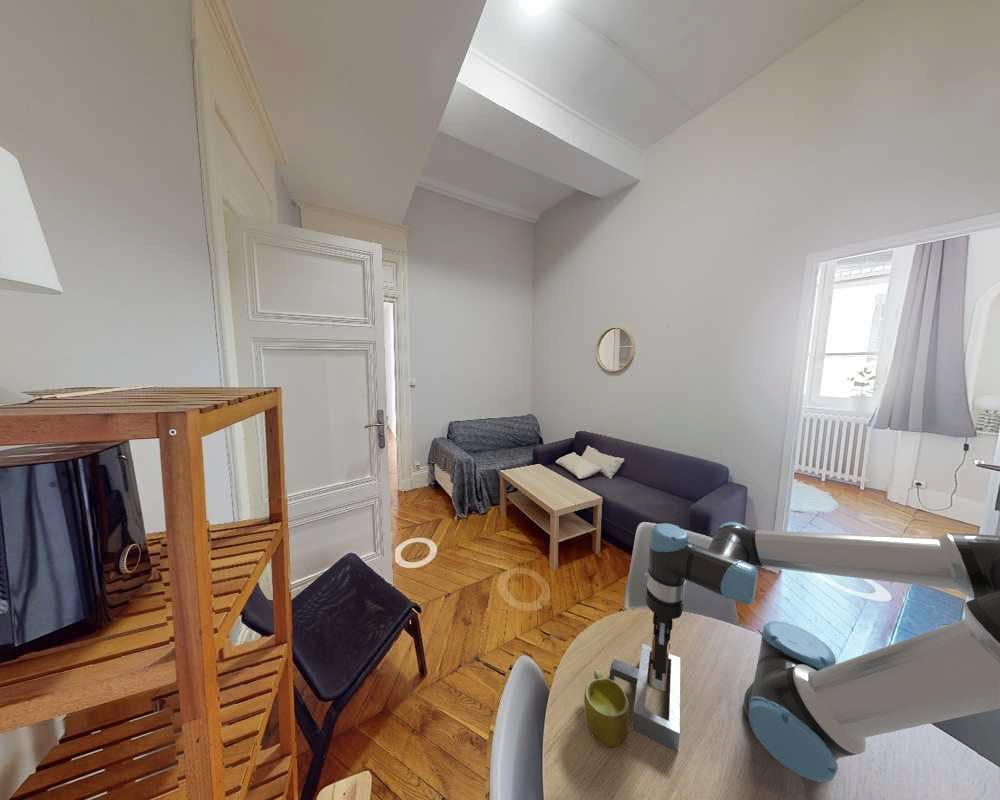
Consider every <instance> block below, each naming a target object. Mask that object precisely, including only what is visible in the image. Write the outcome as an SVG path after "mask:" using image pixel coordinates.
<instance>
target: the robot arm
mask: <svg viewBox="0 0 1000 800" xmlns="http://www.w3.org/2000/svg"><path fill="white" fill-rule="evenodd" d="M650 531H651V532H650V537H649V538H650V539H649V542H648V565H647V566H648V567H647V568H648V569H647V572H645V573H644V577H645V578H647V580H646V581H647V584H646V585H647V587H646V595H645V602H646V606H647V607H648V608H649V610H650V611H651V612H652V613H653V617H652V623H653V634H652V635H653V636H654V637H655V650H654V659H650V664H653V670H652V684H650V685H651V686H652V687H653V688H656V689H658V690H661V691H662V692H665V690H664V687H665V675H666V657H667V645H668V643H669V650H670V649H671V643H670V640H671V631H672V630H673V620H675V619H678V618H680V617H681V616H682V614H683V608H684V598H685V593H686V592H685V588H686V581H688V582H690V583H693V584H695V585H698V586H699V587H702V588H704V589H707V590H709V591H711V592H713V593H715V594H717V595H720V596H722V597H723V598H725V599H728V600H733V601H735V602H738V603H740V604H742V605H747V606H748V605H752V604H753V603H754V600H755V596H756V590H757V586H758V585H757V584H758V577H759V571H758V570H759V569H758V568H759V567H760V568H770V569H778V570H786V571H787V570H788V571H795V572H796V571H797V572H804V573H813V574H820V575H821V574H822V575H829V576H830V575H831V576H839V577H846V578H855V579H856V578H857V579H865V580H872V581H882V582H891V583H899V584H907V585H913V586H914V585H916V586H923V587H924V586H925V587H932V588H933V587H934V588H941V589H949V590H956V591H959V593H961V594H963V595H965V596H966V597H968V598H969V599H970V600H967V601H966V602H964V604H963V610H964V612H963V613H964V618H963V619H961V620H958V621H955V622H952V623H949V624H946V625H944V626H941V627H939V628H935V629H933V630H930V631H927V632H923V633H921V634H918V635H916V636H913V637H910V638H907V639H903V640H901V641H898V642H896V643H893V644H890V645H886V646H884V647H882V648H878V649H876V650H872V651H870V652H867V653H864V654H861V655H858V656H855V657H852V658H849V659H847V660H845V661H844V660H843V661H841V662H839V663H836V662H837V660H836V658H837V657H836V655H835V654H834V652H833V651H832V649H831V648H830V647H829V646H828V645H827V644H826V643H825V642H824V641H822V640H821V639H819V637H817V636H816V635H814V634H813V633H811V632H809V631H807V630H805V629H803V628H801V627H799V626H796V625H794V624H790V623H787V622H784V621H769V622H767V623H765V624H764V626H763V628H762V631H761V633H760V635H761V641H760V646H759V647H760V649H759V654H758V658H757V659H758V660H757V663H756V664H757V665H756V669H755V673H754V679H753V682H752V683H751V684H750V685H749V687H748V688H747V689H746V691H745V693H744V699H743V711H744V714H745V717H746V719H747V722H748V723H749V725H750V727H751V730H752V732H753V733H754V735H755V737H756V738H757V740H758V741H759V742H760V744H761V745H762V747H763V748H764V749H765V750H766V751H767V752H768V753H769V754H770V755H771V756H772V757H774V758H775V760H776V761H778V762H780V764H781V765H783V766H784V767H786V768H788V769H789V770H792V771H793V772H794V773H795V774H796V775H799V776H801V777H803V778H805V779H808V780H810V781H814V782H819V783H828V782H830V781H833V779H834V778H835V777H836V774H837V772H838V769H839V767H838V766H839V765H838V763H837V762H838V761H837V760H838V759H840V758H845V757H850V756H855V755H860V754H863V753H864V752H865V751H866V749H867V748H866V747H867V746H866V745H867V744H866V743H867V742H866V738H870V737H873V736H877V735H879V736H880V735H884V734H887V733H888V734H889V733H893V732H897V731H902V730H906V729H911V728H916V727H920V726H925V725H929V724H930V725H931V724H934V723H939V722H944V721H948V720H953V719H958V718H961V717H962V718H963V717H967V716H973V715H975V714H980V713H986V712H990V711H995V710H1000V535H992V534H978V533H957V532H956V533H953V532H945V533H944V534H942V535H941V536H939V537H937V538H929V537H927V538H925V537H923V538H922V537H903V536H902V537H901V536H885V535H864V534H842V533H825V532H824V533H823V532H821V533H820V532H805V531H803V532H802V531H782V530H761V529H759V530H758V529H750V528H749V527H747V526H746V525H744V524H742V523H739V522H736V521H728V522H725V523H723V524H721V525H720V527H718V529H716V531H715V532H714V535H713V538H712V540H711V542H710V543H709V545H708V547H707V548H705V547H703V546H700V545H697V544H695V543H692V542H690V538H689V537H690V536H689V534H688V533H687V531H686V530H685V529H683V528H681V527H680V526H678V525H677V524H676V525H675V524H672V523H664V522H663V523H658V524H655V525H654V526H653V527H652V528H651V530H650ZM757 567H758V568H757Z"/></svg>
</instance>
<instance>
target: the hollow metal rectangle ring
mask: <svg viewBox="0 0 1000 800" xmlns="http://www.w3.org/2000/svg"><path fill="white" fill-rule="evenodd" d="M651 651H652V646H650V645H647V644H645V643H642V644H641V651H640V659H639V668H637V667H634V666H633V665H629V664H628V663H625V662H623V661H620V660H619V659H615V658H614V659H613V661H611V664H610V667H609V679H610V680H612V681H614V682H615V679H616V678H618V679H621V680H623V681H625V682H628V683H629V684H632V685H634V686H636V689H635V697H634V705H633V714H632V730H631V731H634V732H635V733H637V734H639V735H641V736H643V737H646V738H648V739H649V740H651V741H653V742H655V743H657V744H659V745H661V746H663V747H666V748H667V749H669V750H671V751H673V752H676V753H679V745H680V734H681V732H680V731H681V730H680V727H681V726H680V721H681V717H680V715H681V713H680V712H681V711H680V710H681V708H680V707H681V657H679V656H676V655H674V654H671V653H669V655H668V668H667V676H669V694H668V695H669V696H668V697H669V699H668V717H667V718H668V720H667V719H665V718H663V717H661V716H659V715H657V714H655V713H652V712H650V711H648V710H646V709H645V708H646V702H647V701H646V699H647V692H648V691H647V690H648V683H649V682H648V680H649V673H650V666H651V664H650V659H651Z"/></svg>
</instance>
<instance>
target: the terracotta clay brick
mask: <svg viewBox="0 0 1000 800" xmlns="http://www.w3.org/2000/svg"><path fill="white" fill-rule="evenodd" d="M651 642H652V643H651V647H652V651H651V659H654V650H655V636H654V635H653V636H652V640H651ZM669 644H670V642H669V643H668V645H667V657H666V675H665V687H664V692H666V690H667V679H668V675H667V668H668V655H669V654H670V652H669V651H670V649H669ZM652 670H653V664H651V666H650V667H649V679H648V680H649V682H648V683H649V685H651V684H652Z"/></svg>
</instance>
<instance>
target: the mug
mask: <svg viewBox="0 0 1000 800" xmlns="http://www.w3.org/2000/svg"><path fill="white" fill-rule="evenodd" d="M593 671H594V672H593V676H594V677H593V679H592V680H591V681H589V682H588V683H587V684H586V686H585V689H584V698H583V699H584V700H583V701H584V708H585V715H586V716H585V717H586V722H587V727H588V730H589V731H590V734H591V735H592V737H593V739H595V741H596V742H597V743H599V744H600V745H602V746H604V747H605V748H609V749H610V748H611V749H616V748H618V747H620V746H622V745H624V744H625V742H626V740H627V738H628V730H629V728H628V725H629V724H628V723H629V709H630V708H629V700H628V697H627V695H626V692H625V691H624V688H622V686H621V685H620V684H618V683H617V682H616V681H615V680H614V681H612V680H610V678H605V676H604V672H603V671H602V670H601V669H594V670H593Z"/></svg>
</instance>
